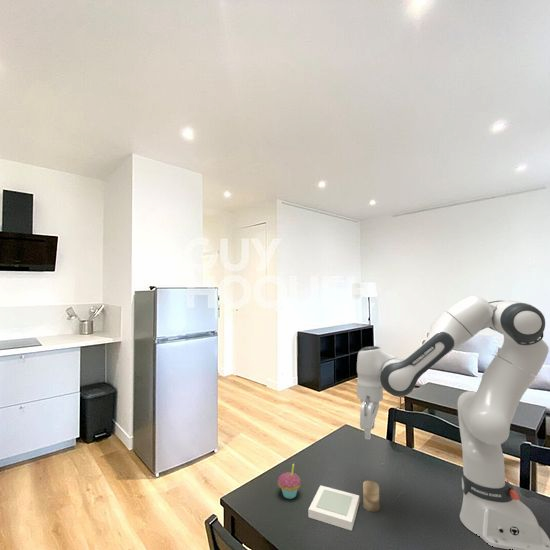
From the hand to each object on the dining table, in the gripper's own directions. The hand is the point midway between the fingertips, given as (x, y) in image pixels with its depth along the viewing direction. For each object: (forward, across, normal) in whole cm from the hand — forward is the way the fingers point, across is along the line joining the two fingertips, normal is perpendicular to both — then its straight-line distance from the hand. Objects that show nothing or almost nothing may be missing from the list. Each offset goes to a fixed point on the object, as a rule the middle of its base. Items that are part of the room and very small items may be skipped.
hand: (369, 433), depth 107 cm
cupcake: (+25, -7, +27) cm, 38 cm away
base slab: (+24, -8, +10) cm, 28 cm away
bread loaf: (+24, -1, -1) cm, 24 cm away
